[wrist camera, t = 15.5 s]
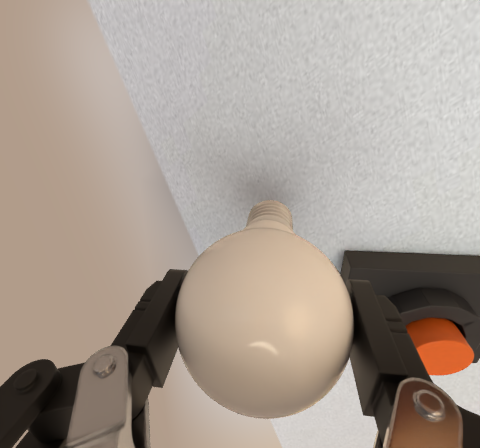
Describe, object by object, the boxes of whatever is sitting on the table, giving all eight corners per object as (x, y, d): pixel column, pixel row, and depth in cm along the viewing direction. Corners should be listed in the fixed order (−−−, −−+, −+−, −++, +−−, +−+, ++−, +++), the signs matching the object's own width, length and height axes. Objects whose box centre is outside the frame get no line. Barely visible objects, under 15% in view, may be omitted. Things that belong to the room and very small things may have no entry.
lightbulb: (227, 254, 18) (169, 441, 9) (215, 168, 15) (108, 319, 6) (318, 255, 17) (361, 470, 8) (326, 163, 14) (412, 339, 5)
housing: (330, 329, 26) (337, 368, 23) (344, 250, 21) (356, 284, 18) (461, 341, 24) (491, 384, 21) (512, 256, 19) (561, 296, 16)
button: (392, 347, 21) (402, 372, 19) (405, 313, 19) (417, 338, 17) (446, 352, 20) (461, 378, 19) (466, 318, 18) (485, 344, 17)
